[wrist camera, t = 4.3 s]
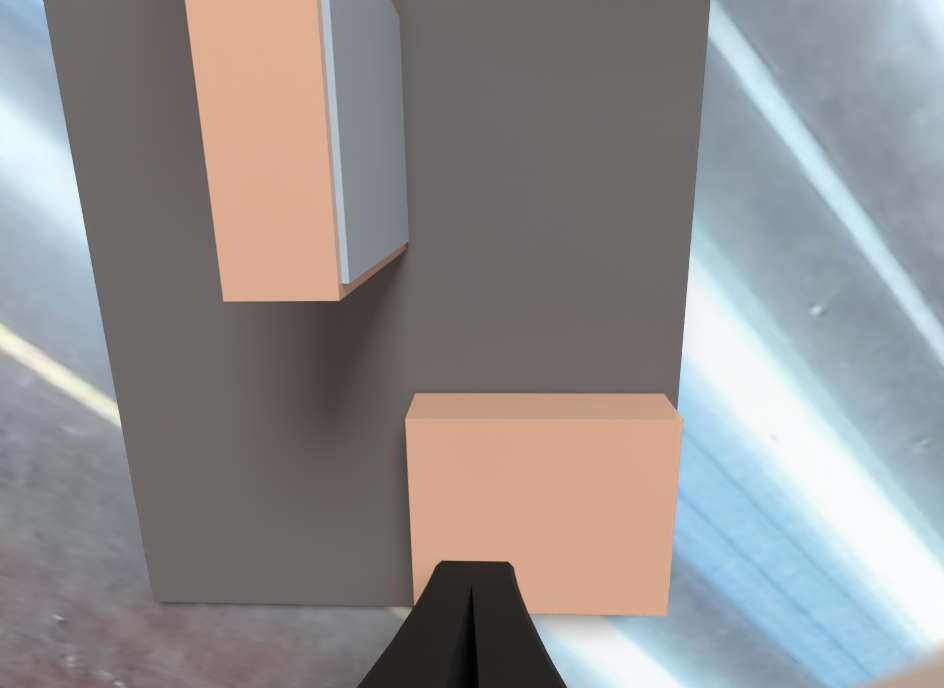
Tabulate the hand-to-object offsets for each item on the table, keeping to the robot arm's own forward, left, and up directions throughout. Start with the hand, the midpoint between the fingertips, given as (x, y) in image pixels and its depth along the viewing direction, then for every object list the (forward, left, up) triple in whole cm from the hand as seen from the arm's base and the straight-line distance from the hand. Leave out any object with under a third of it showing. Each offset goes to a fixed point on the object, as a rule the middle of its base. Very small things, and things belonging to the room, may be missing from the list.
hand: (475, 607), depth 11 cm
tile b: (-2, +8, -5) cm, 10 cm away
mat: (-2, +4, -5) cm, 7 cm away
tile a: (-2, 0, -4) cm, 4 cm away
